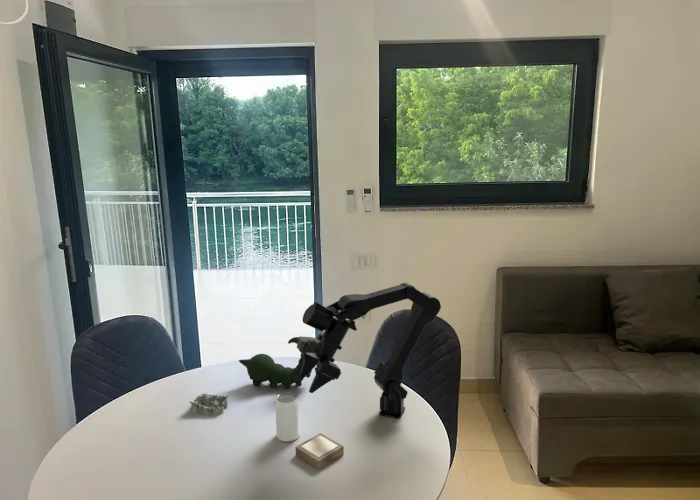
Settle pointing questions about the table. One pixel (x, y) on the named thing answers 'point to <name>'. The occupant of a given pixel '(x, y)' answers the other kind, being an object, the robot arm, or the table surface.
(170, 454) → the table surface
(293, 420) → the can
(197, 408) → the egg carton
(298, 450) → the block
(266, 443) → the table surface
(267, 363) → the toy figurine
